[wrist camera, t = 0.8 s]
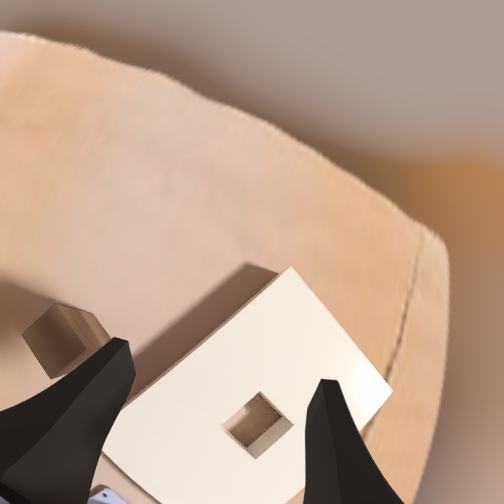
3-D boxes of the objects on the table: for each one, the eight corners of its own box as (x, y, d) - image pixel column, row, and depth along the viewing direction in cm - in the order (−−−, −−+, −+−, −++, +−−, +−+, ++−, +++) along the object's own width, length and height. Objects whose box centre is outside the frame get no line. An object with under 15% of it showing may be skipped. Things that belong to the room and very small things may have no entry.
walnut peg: (89, 365, 22) (51, 379, 13) (67, 335, 22) (21, 334, 13) (115, 343, 23) (86, 349, 14) (93, 313, 23) (55, 303, 15)
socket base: (220, 529, 20) (225, 545, 17) (96, 425, 20) (88, 435, 18) (374, 387, 28) (392, 390, 25) (279, 273, 28) (291, 266, 25)
